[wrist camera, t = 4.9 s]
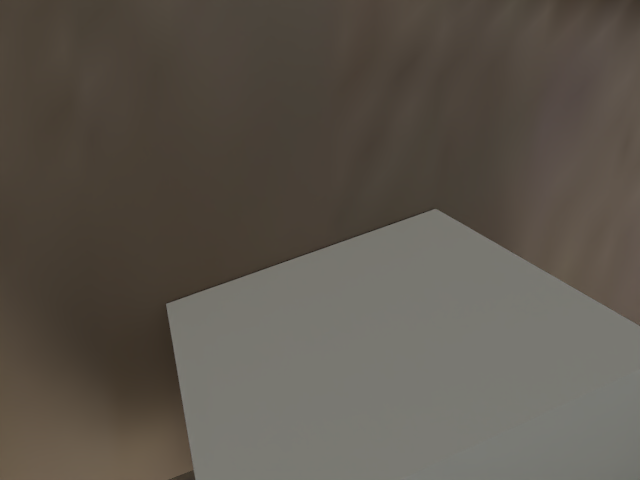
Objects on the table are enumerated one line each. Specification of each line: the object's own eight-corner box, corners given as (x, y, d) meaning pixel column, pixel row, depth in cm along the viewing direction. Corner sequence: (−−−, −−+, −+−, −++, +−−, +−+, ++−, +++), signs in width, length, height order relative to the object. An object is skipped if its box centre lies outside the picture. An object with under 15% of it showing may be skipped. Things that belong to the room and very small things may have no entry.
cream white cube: (435, 208, 10) (681, 349, 6) (465, 415, 12) (661, 637, 8) (166, 303, 9) (209, 566, 5) (248, 512, 11) (333, 832, 7)
